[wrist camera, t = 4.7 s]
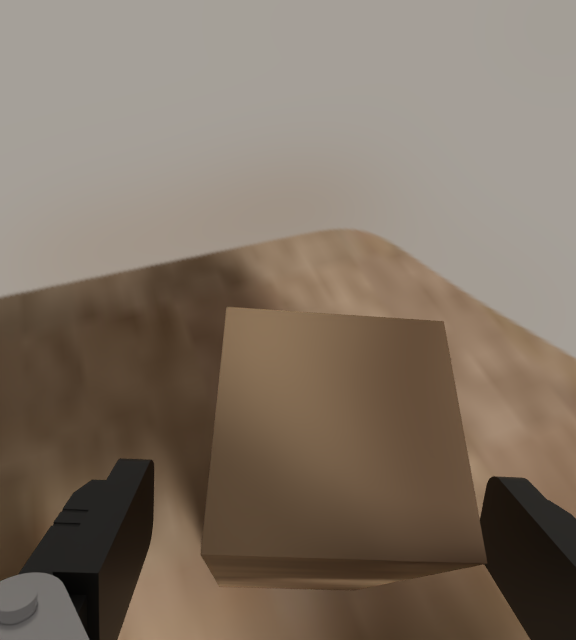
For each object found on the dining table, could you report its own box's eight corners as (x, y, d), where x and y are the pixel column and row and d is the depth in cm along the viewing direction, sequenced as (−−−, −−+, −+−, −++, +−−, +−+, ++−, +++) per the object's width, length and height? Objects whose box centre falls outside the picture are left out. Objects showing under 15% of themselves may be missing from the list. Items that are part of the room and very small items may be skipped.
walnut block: (219, 586, 16) (200, 554, 7) (230, 451, 18) (226, 307, 10) (353, 590, 16) (487, 562, 8) (347, 456, 18) (443, 321, 10)
